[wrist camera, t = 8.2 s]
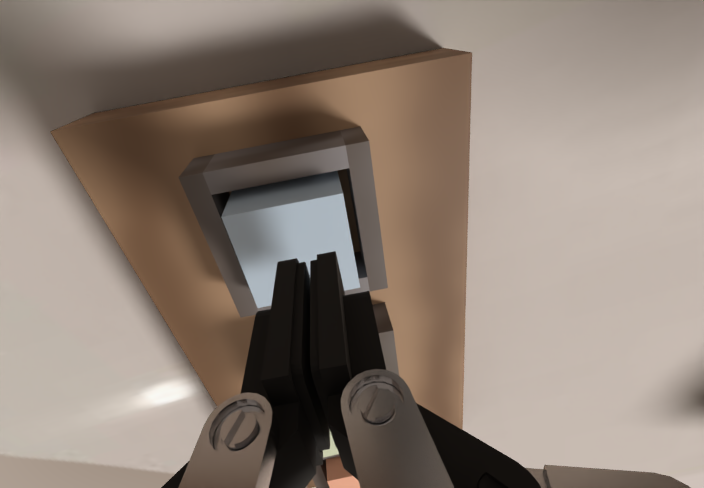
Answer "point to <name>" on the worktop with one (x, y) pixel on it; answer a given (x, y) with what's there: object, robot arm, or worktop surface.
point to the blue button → (289, 229)
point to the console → (290, 163)
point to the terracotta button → (339, 475)
